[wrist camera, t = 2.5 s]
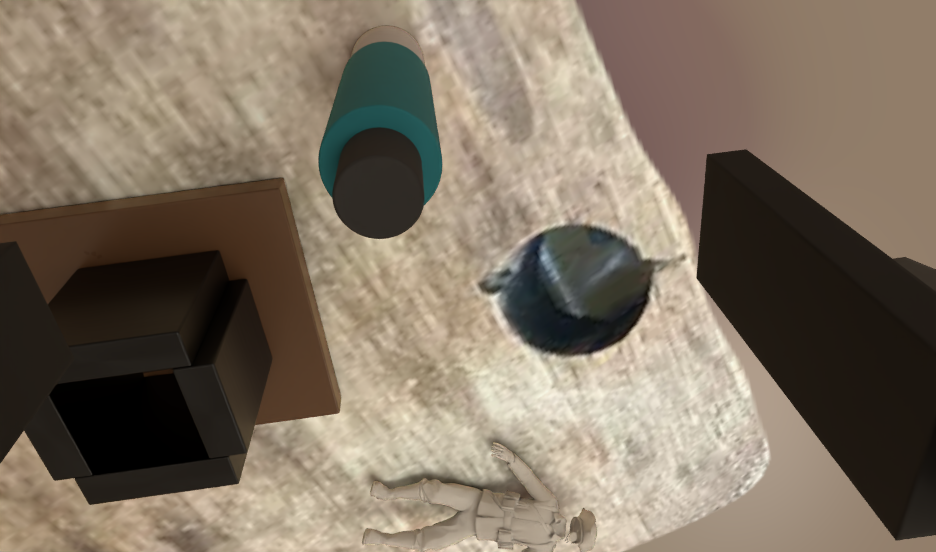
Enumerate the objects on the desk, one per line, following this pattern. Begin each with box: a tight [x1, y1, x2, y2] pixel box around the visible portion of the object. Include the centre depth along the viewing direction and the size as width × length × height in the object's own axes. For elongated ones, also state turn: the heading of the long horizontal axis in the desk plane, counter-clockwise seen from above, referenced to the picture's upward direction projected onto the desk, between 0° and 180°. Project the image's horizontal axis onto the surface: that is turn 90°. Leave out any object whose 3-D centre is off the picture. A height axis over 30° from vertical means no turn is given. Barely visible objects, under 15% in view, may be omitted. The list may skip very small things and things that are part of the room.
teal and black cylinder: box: [318, 26, 442, 239], centre depth 20 cm, size 3×3×13 cm
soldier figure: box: [362, 442, 597, 552], centre depth 36 cm, size 8×5×12 cm
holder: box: [0, 178, 341, 505], centre depth 27 cm, size 12×12×7 cm
